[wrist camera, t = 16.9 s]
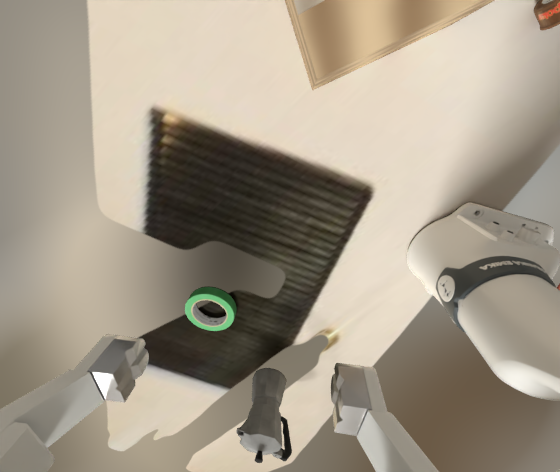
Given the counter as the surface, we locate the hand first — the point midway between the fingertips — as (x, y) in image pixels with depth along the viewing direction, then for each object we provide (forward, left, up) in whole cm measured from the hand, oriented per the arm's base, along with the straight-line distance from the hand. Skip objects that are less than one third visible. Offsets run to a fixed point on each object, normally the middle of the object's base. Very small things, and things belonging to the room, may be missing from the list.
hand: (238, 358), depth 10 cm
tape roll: (+15, +32, -35) cm, 50 cm away
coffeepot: (0, +57, -34) cm, 67 cm away
